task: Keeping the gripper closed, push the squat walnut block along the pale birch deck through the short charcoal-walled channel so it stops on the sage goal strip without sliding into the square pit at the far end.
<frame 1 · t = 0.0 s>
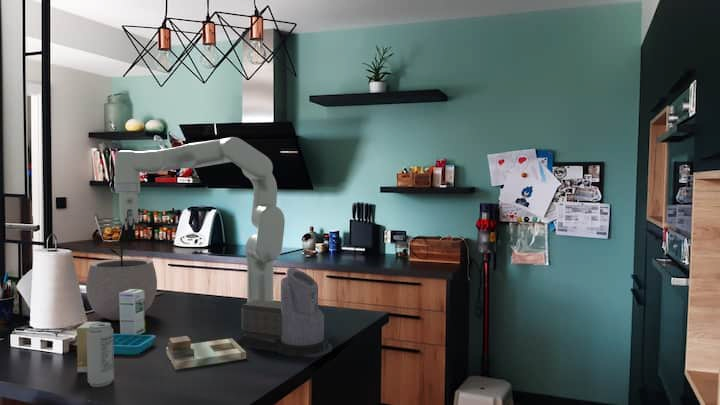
hand: (128, 240, 180), 31 cm above the counter, fingers open, 9 cm apart
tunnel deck: (206, 356, 160), on the counter
ice cube tray: (116, 350, 167), on the counter
skincare box: (89, 369, 149), on the counter
plant pot: (122, 319, 202), on the counter
energy drink can: (101, 384, 139), on the counter
syrup box: (132, 334, 182), on the counter
walnut block: (180, 353, 157), point 2 cm above the counter, touching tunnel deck
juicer: (285, 346, 171), on the counter
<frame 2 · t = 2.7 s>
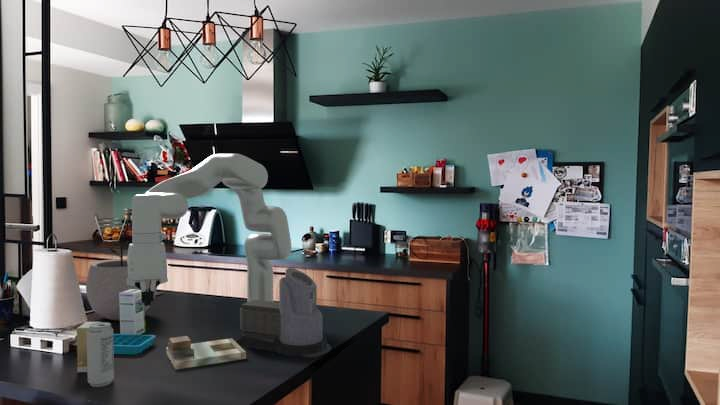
hand: (147, 304, 152), 17 cm above the counter, fingers closed
nothing on the counter moved.
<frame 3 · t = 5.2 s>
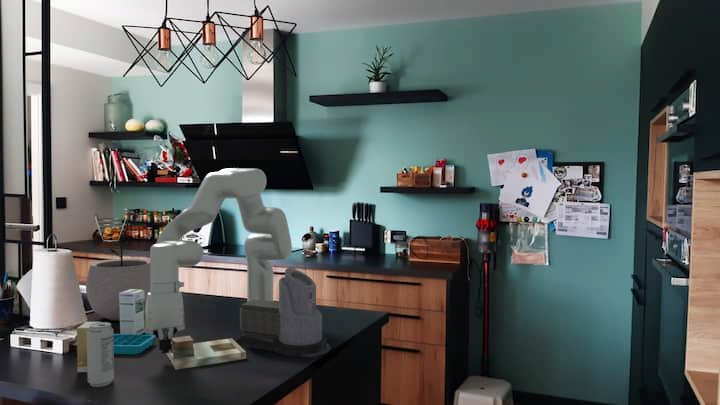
hand: (165, 352, 155), 3 cm above the counter, fingers closed
walnut block: (182, 352, 157), point 2 cm above the counter, touching gripper, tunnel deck
everything else where it was.
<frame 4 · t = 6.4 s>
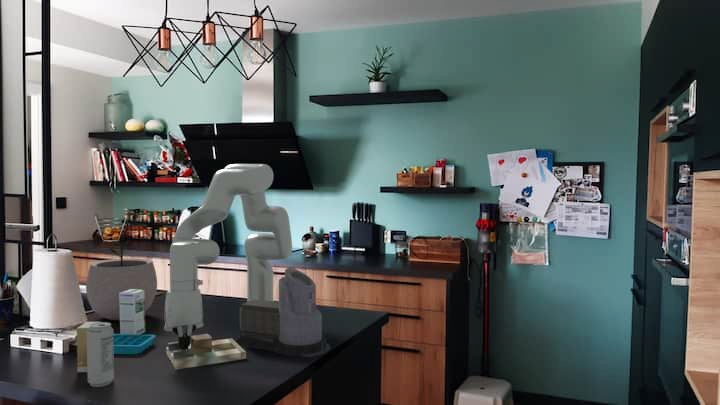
hand: (184, 348, 157), 3 cm above the counter, fingers closed
walnut block: (201, 350, 159), point 2 cm above the counter, touching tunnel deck
everything else where it was.
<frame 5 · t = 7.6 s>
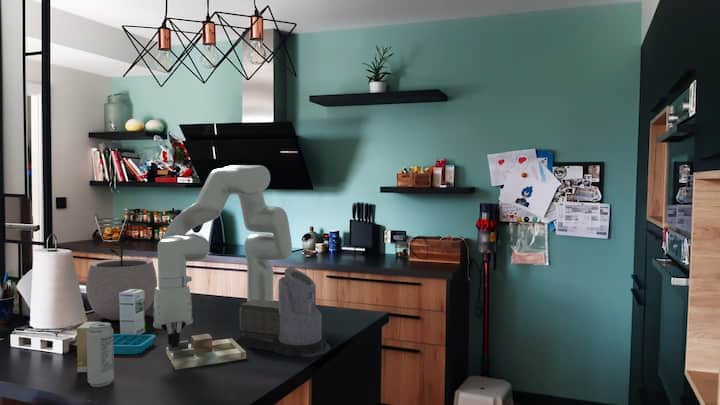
hand: (173, 345, 156), 4 cm above the counter, fingers closed
nothing on the counter moved.
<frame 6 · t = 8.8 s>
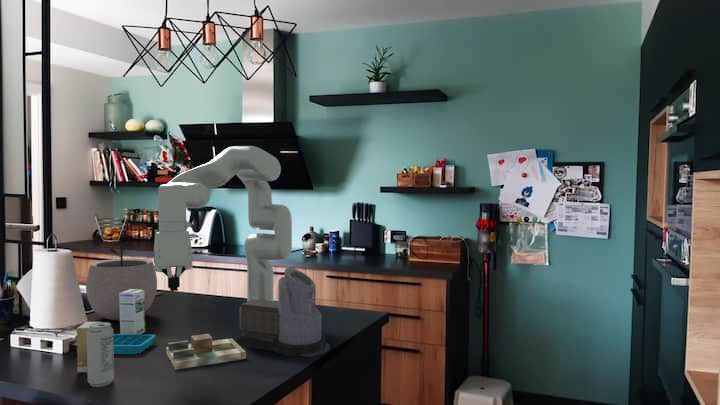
hand: (173, 290, 158), 20 cm above the counter, fingers closed
nothing on the counter moved.
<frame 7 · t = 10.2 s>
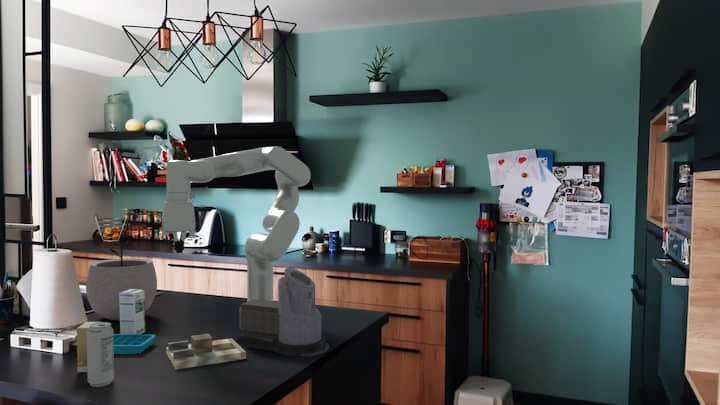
hand: (179, 252, 182), 27 cm above the counter, fingers closed
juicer: (283, 346, 171), on the counter, touching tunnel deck
everything else where it was.
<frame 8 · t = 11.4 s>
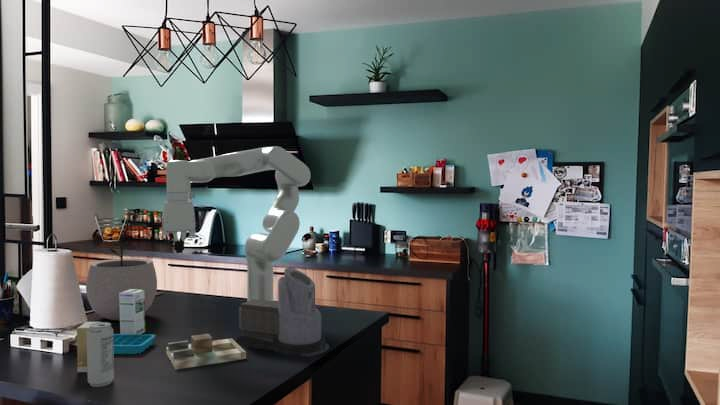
hand: (179, 252, 182), 27 cm above the counter, fingers closed
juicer: (283, 346, 172), on the counter
everything else where it was.
at the end: walnut block 0.7 cm from the target spot, point 2.0 cm above the counter; walnut block tilted 0° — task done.
